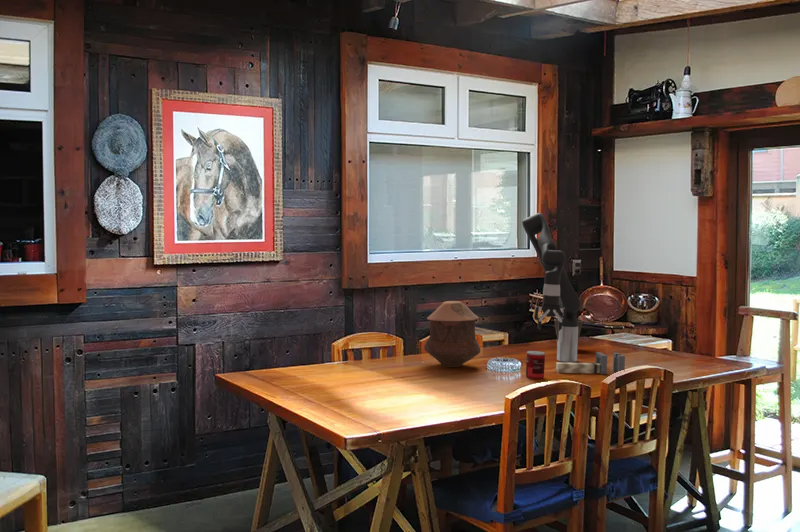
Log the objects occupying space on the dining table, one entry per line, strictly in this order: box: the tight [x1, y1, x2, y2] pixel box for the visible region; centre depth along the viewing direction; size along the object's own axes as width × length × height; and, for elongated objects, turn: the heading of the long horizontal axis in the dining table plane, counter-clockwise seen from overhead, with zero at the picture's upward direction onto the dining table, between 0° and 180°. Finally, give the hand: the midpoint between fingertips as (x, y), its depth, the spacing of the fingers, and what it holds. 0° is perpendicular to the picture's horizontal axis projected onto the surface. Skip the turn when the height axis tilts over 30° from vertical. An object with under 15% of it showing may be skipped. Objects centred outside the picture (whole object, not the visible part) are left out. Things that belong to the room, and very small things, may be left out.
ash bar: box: [555, 361, 600, 374], centre depth 350 cm, size 20×4×4 cm, turn 91°
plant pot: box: [553, 318, 583, 341], centre depth 417 cm, size 15×15×16 cm
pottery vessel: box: [423, 300, 481, 368], centre depth 356 cm, size 26×26×30 cm
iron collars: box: [594, 351, 626, 375], centre depth 351 cm, size 10×9×8 cm
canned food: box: [525, 350, 546, 380], centre depth 335 cm, size 8×8×11 cm
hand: (549, 330), depth 350 cm, fingers open, 8 cm apart
